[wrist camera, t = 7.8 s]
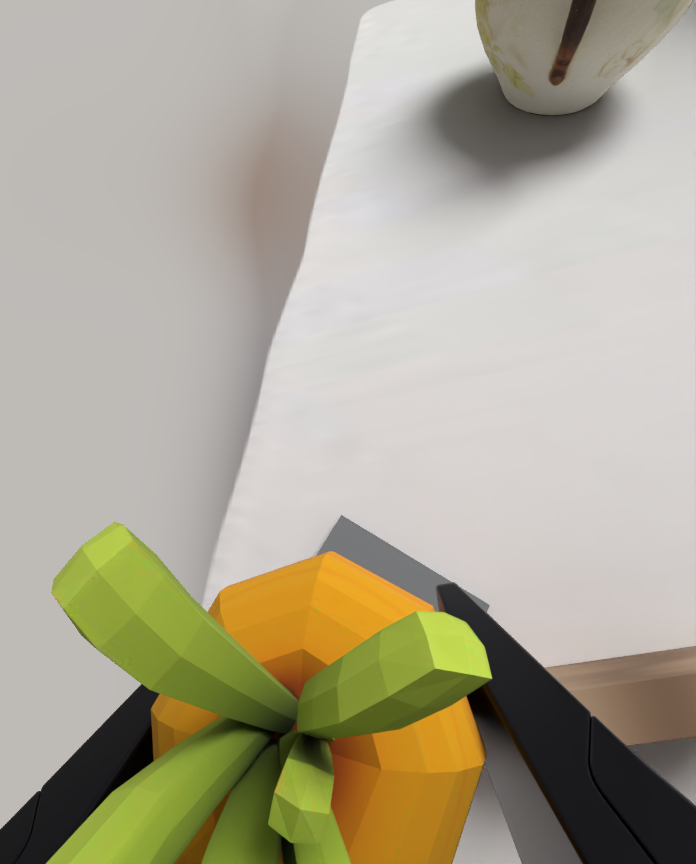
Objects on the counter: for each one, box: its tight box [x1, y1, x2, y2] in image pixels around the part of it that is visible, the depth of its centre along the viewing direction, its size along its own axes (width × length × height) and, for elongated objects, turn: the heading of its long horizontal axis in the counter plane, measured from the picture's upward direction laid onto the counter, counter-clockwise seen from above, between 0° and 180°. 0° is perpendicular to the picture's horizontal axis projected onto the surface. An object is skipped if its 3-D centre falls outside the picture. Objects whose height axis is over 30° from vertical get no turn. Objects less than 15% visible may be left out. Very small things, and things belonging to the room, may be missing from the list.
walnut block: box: [545, 646, 696, 746], centre depth 14 cm, size 9×2×4 cm, turn 98°
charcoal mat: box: [317, 515, 489, 612], centre depth 17 cm, size 8×8×1 cm
